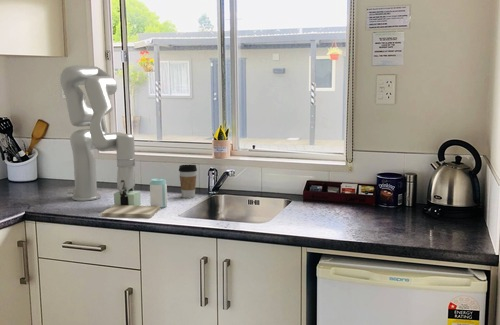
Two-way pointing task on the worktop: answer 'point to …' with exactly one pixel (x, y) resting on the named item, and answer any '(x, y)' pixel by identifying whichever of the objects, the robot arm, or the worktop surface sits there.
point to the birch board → (131, 211)
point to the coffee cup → (188, 180)
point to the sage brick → (132, 198)
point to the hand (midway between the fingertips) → (127, 203)
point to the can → (158, 192)
